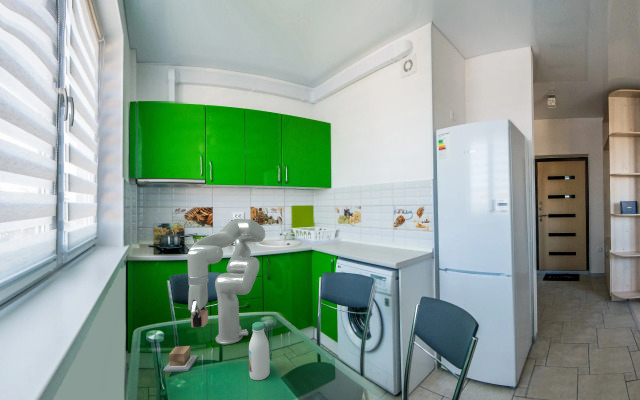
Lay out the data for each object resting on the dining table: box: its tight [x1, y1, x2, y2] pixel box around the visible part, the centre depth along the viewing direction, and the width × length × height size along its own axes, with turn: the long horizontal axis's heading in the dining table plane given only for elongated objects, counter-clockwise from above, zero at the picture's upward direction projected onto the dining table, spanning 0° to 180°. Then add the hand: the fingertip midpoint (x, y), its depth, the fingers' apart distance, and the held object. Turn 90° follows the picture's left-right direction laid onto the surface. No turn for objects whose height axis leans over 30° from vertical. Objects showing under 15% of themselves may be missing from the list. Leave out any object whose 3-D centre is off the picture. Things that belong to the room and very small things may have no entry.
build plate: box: [162, 354, 199, 372], centre depth 126 cm, size 10×10×1 cm
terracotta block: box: [190, 309, 209, 328], centre depth 124 cm, size 5×5×5 cm
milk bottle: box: [248, 321, 271, 381], centre depth 117 cm, size 8×8×20 cm
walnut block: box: [168, 345, 192, 366], centre depth 126 cm, size 6×6×5 cm
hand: (199, 323), depth 124 cm, fingers closed on terracotta block, 5 cm apart
